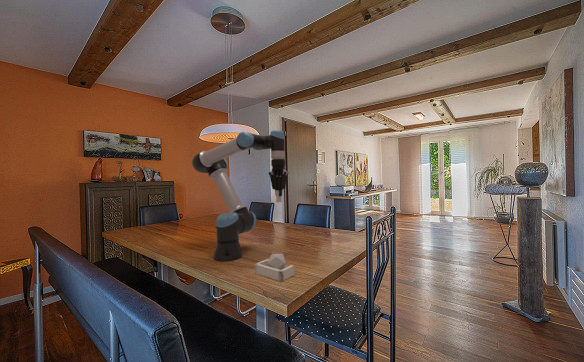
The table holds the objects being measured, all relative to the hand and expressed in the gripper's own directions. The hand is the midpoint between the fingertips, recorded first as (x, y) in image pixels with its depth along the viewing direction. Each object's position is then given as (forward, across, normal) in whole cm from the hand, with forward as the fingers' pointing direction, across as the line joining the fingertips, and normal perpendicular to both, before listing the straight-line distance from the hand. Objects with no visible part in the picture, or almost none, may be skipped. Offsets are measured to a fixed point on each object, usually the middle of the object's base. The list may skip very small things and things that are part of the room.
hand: (279, 202), depth 135 cm
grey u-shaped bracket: (+29, -15, +21) cm, 39 cm away
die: (+30, -14, +18) cm, 38 cm away
